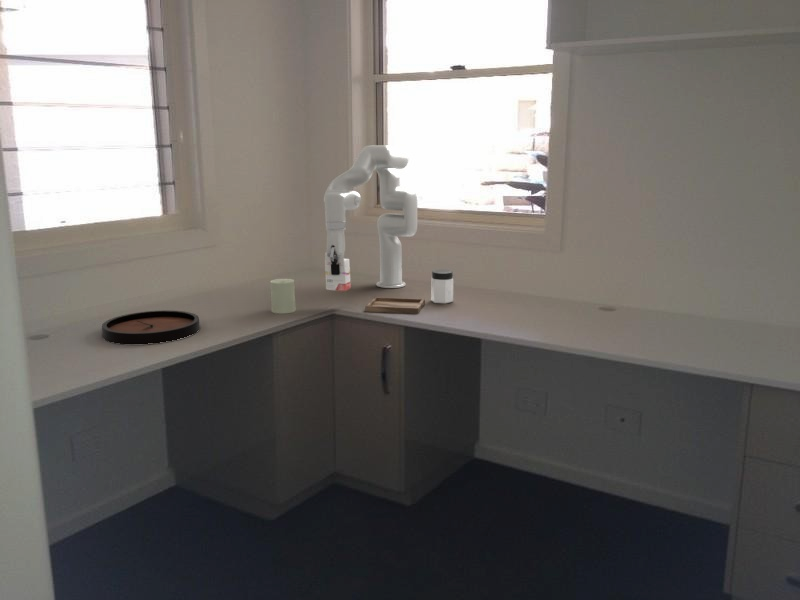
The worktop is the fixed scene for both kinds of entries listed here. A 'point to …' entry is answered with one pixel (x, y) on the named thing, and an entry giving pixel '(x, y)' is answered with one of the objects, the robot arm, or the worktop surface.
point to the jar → (442, 286)
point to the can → (282, 296)
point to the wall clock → (150, 327)
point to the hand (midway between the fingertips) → (337, 272)
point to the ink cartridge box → (341, 280)
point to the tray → (395, 305)
